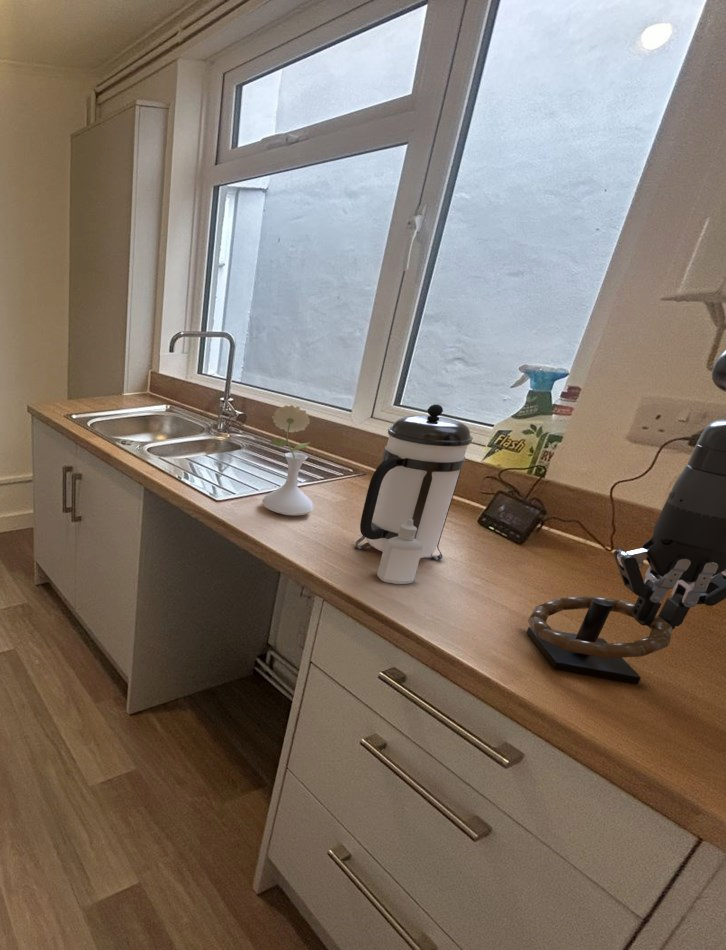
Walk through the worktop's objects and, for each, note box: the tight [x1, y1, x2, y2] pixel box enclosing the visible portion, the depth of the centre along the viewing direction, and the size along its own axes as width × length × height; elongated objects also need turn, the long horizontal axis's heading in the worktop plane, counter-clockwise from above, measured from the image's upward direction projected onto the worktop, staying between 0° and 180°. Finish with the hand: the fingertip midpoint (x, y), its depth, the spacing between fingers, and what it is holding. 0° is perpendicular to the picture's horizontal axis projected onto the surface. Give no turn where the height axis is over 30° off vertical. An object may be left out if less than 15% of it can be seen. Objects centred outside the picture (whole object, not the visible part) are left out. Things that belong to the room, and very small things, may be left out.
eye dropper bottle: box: [376, 519, 423, 585], centre depth 94 cm, size 4×6×12 cm
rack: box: [526, 599, 642, 685], centre depth 74 cm, size 9×9×9 cm
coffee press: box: [355, 403, 473, 561], centre depth 99 cm, size 17×16×30 cm
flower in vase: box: [262, 404, 315, 516], centre depth 122 cm, size 13×11×25 cm
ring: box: [527, 595, 673, 658], centre depth 73 cm, size 14×14×2 cm
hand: (653, 623), depth 71 cm, fingers closed on ring, 2 cm apart
